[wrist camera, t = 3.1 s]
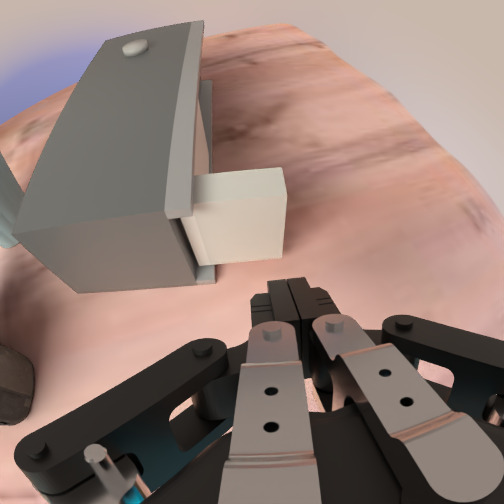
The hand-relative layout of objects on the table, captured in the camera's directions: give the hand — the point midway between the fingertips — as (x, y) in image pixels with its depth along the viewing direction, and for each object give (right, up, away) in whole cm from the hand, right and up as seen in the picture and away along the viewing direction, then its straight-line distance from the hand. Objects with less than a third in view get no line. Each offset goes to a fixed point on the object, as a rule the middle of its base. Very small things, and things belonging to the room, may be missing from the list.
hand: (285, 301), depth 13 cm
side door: (-3, +6, +12) cm, 14 cm away
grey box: (-11, +10, +16) cm, 23 cm away
